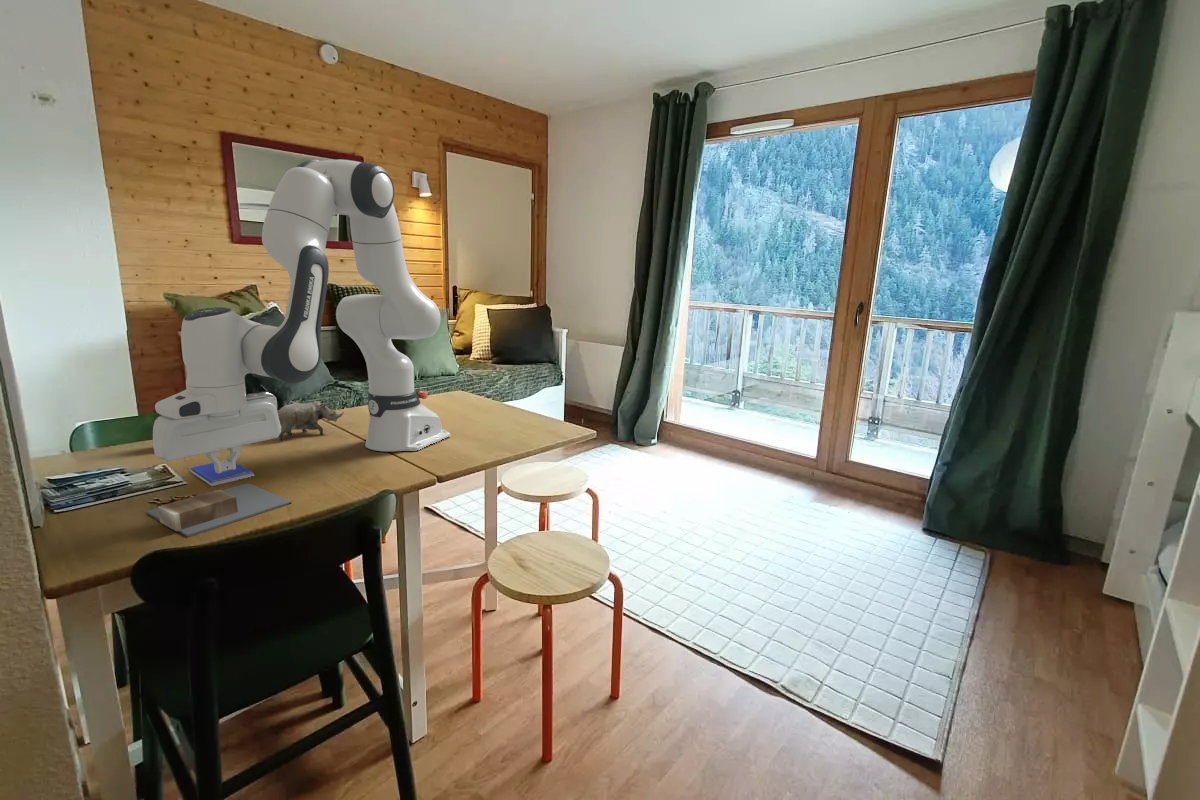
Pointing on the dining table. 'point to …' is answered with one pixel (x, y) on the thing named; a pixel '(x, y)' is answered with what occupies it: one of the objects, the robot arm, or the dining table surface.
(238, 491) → the mat
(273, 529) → the dining table surface
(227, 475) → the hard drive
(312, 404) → the rhinoceros figurine
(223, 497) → the block
